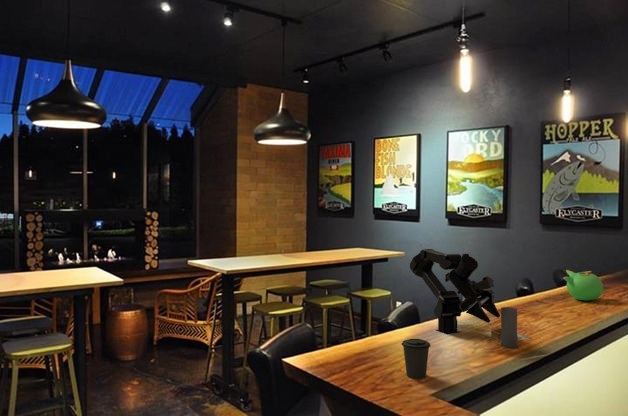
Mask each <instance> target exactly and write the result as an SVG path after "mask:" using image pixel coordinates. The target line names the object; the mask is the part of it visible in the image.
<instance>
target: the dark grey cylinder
mask: <svg viewBox="0 0 628 416" xmlns="http://www.w3.org/2000/svg"><path fill="white" fill-rule="evenodd" d="M500 328H501V341H500V346H501V347H502V348H505V349H517V348H518V341H517V333H518V309H517V308H515V307H509V306H508V307H507V306H506V307H505V306H503V307H501V308H500Z"/></svg>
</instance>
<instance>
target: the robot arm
mask: <svg viewBox="0 0 628 416" xmlns="http://www.w3.org/2000/svg"><path fill="white" fill-rule="evenodd" d="M435 264H438V265H439V267H440V268H441V269H442V270H444V271H449V272H446V274H445V278H444V279H445V283H448V282H450V283H451V284H452V285H453V286H454V288H456V290H458V291H457V292H456V291H455V290H447V289H446V287H445V286H444V285H443V283H442V282H441V281H440V279H439V278H438V277H437V275H436V274H435V273H434V271H433V266H434V265H435ZM478 267H479V263H478V261H477V260H476V259H475V258H474V257H472V256H470V253H463V254H460V253H444V252H441V251H437V250H434V249H433V248H423V249H421V250H420V251H419V253H417V254H416V255H415V256H413V257H412V259H411V261H410V262H409V269H410V270H411V273H413V275H415V276H417V277H419V278H421V279H422V280H423V281H424V283H425V284H426V285H427V287H428V289H429V290H430V291H431V292H432V294H433V295H434V296H435V298H436V305H435V307H434V309H433V314H434V316H435V317H437V319H438V320H437V329H435V331H436V332H439V333H442V334H443V335H451V334H452V335H453V334H457V333H458V334H460V331H459V330H458V317H460V318H461V316H462V313H466V314H469V315H471V316H473V317H475V318H477V319H480V320H482V321H484V322H485V323H488V324H489V323H491V319H490V318H489V315H487V313H486V312H485V311H487V312H488V313H490V314H491V315H493V316H494V317H496V318H497V319H499V318H501V313H500V312H499V310H498V308H497V306H496V304H495V302H494V300H495V294H496V292H494V291H493V290H492V289H491V288H494V287H495V284H494V279H492V277H490V276H489V275H488V276H484V277H482V280H480V281H478V282H477V281H476V280H471V279H470V277H471V276H472V274H473V273H474V272H475V271H476V270H477V269H478ZM460 295H462V297H463V298H464V299H463V301H462V300H461V299H460Z"/></svg>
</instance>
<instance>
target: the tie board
mask: <svg viewBox="0 0 628 416" xmlns="http://www.w3.org/2000/svg"><path fill="white" fill-rule="evenodd" d="M490 330H491V331H486V332H480V333H478V334H479V335H482V336H485V337H487V338H490V339H493V340H495V341H496V340H497V341H499V342H501V327H497V328H491V329H490ZM529 339H532V336H528V335H524V334H521V333H518V332H517V342H519V341H524V340H529Z"/></svg>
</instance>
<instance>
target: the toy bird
mask: <svg viewBox="0 0 628 416" xmlns="http://www.w3.org/2000/svg"><path fill="white" fill-rule="evenodd" d="M592 271H593V270H589V271H580V272H574V271H571V270H570V269H566V270H565V272H566V273H567V275H568V276H564V277H563V280H564V281H566V288H567V289H566V290H567V292H568V293H569V295H570V296H571V297H572V298H574V299H576V300H580V301H584V302H587V301H588V302H589V301H594V300H596V299H598V298H600V297H601V296H602V295H603V291H604V285H603V282H602V280H601V279H600V277H599V276H597V275H596V274H595V273H592Z"/></svg>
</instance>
